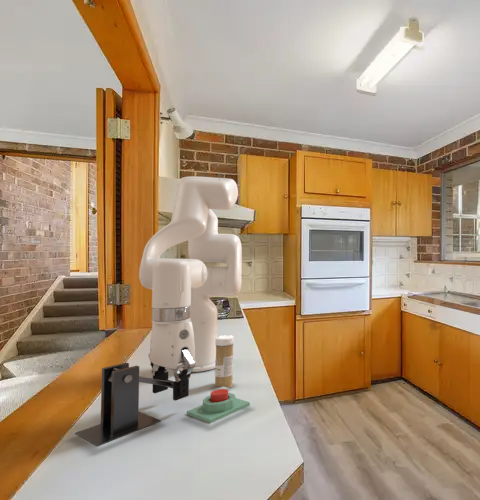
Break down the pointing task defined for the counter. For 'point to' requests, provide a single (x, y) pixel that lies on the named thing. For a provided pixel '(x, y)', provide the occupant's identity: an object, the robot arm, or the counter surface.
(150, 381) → the lever handle
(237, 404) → the control block
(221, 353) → the sprinkles bottle
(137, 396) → the lever bracket
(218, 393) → the button
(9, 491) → the counter surface
